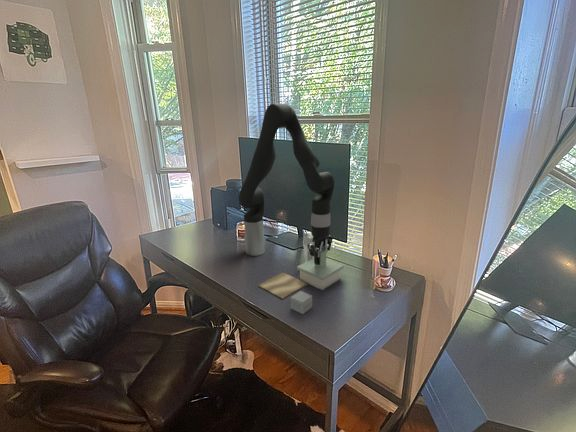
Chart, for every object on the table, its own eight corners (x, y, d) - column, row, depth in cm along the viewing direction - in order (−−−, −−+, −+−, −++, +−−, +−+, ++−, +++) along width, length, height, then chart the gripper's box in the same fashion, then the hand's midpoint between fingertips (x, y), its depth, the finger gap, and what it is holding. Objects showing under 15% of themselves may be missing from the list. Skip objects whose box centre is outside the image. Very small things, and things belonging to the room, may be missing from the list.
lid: (296, 269, 130) (296, 251, 128) (318, 258, 140) (318, 241, 137) (322, 280, 121) (323, 261, 119) (343, 268, 130) (344, 250, 128)
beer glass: (321, 264, 145) (321, 233, 140) (314, 270, 140) (314, 238, 135) (307, 260, 149) (307, 231, 144) (300, 266, 143) (300, 236, 138)
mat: (258, 286, 128) (258, 284, 128) (283, 273, 137) (283, 272, 137) (282, 299, 119) (282, 297, 118) (307, 284, 128) (307, 283, 128)
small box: (300, 301, 117) (300, 290, 116) (312, 307, 114) (312, 295, 112) (290, 308, 113) (290, 296, 112) (302, 315, 110) (302, 302, 108)
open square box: (299, 279, 132) (299, 269, 130) (318, 269, 140) (318, 259, 138) (322, 290, 124) (322, 279, 122) (340, 278, 132) (340, 268, 130)
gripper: (324, 216, 131) (323, 254, 137) (301, 225, 122) (301, 265, 127) (339, 220, 126) (338, 259, 132) (316, 230, 117) (316, 272, 122)
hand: (320, 262), depth 130 cm, fingers closed on lid, 3 cm apart
